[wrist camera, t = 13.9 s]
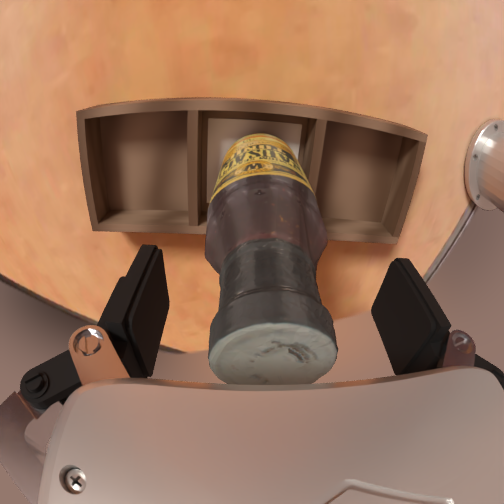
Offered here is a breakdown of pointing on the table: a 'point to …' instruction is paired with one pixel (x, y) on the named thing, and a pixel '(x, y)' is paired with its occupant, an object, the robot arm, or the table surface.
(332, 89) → the table surface
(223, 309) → the sauce bottle
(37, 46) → the table surface
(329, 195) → the walnut rack
